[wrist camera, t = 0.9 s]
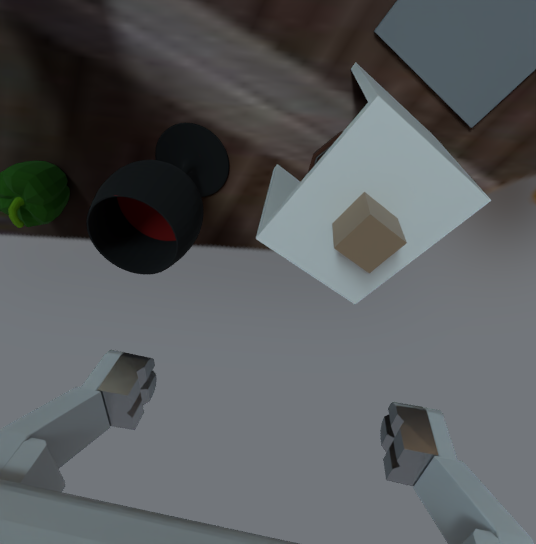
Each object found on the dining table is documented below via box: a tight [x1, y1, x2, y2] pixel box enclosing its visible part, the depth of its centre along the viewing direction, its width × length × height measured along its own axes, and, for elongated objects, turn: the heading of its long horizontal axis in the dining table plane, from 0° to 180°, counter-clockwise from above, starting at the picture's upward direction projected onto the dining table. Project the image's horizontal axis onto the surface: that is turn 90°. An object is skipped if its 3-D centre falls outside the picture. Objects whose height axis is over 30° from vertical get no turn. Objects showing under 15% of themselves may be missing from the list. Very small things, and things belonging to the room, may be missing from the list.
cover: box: [256, 63, 491, 305], centre depth 36 cm, size 13×16×22 cm
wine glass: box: [87, 123, 229, 274], centre depth 40 cm, size 10×10×20 cm
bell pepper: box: [0, 161, 70, 228], centre depth 48 cm, size 8×8×10 cm
